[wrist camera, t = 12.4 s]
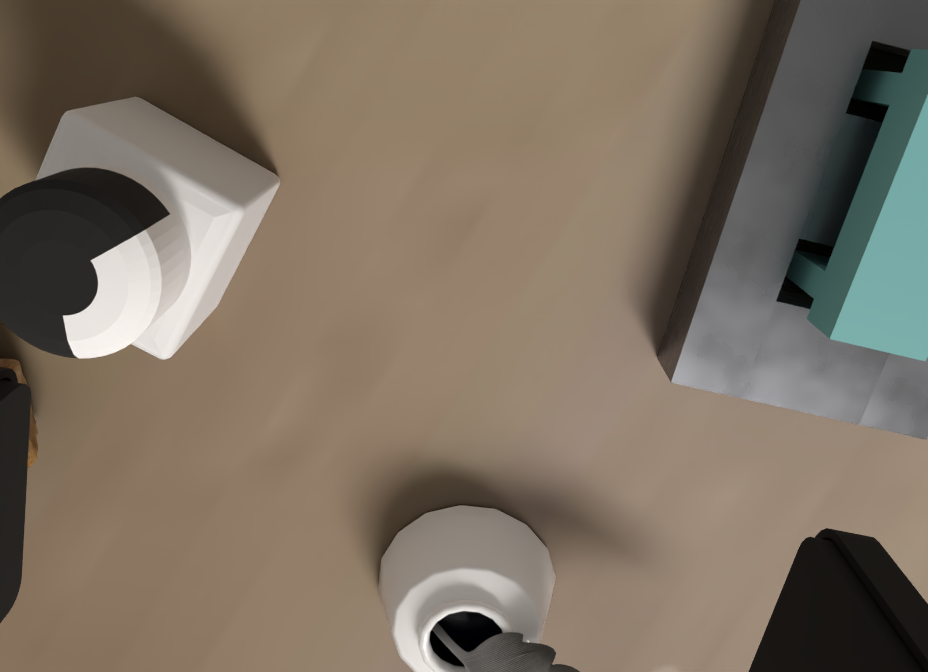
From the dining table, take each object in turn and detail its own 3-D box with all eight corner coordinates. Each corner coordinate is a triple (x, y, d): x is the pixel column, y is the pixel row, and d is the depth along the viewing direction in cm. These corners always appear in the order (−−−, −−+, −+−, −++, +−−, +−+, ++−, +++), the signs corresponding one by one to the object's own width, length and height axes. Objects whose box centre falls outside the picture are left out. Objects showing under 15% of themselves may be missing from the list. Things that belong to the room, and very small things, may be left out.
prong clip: (774, 291, 40) (829, 338, 34) (865, 46, 37) (945, 50, 31) (856, 310, 41) (925, 361, 34) (955, 69, 37) (1051, 78, 31)
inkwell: (408, 480, 44) (391, 604, 34) (739, 579, 46) (809, 723, 36) (356, 626, 47) (328, 777, 37) (669, 713, 48) (717, 879, 39)
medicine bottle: (72, 233, 40) (-86, 316, 28) (135, 92, 38) (-10, 120, 26) (216, 309, 41) (118, 418, 29) (284, 177, 39) (208, 238, 27)
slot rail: (657, 358, 41) (671, 382, 39) (808, -99, 35) (837, -110, 32) (895, 411, 42) (926, 439, 39) (1086, -25, 36) (1139, -29, 33)
